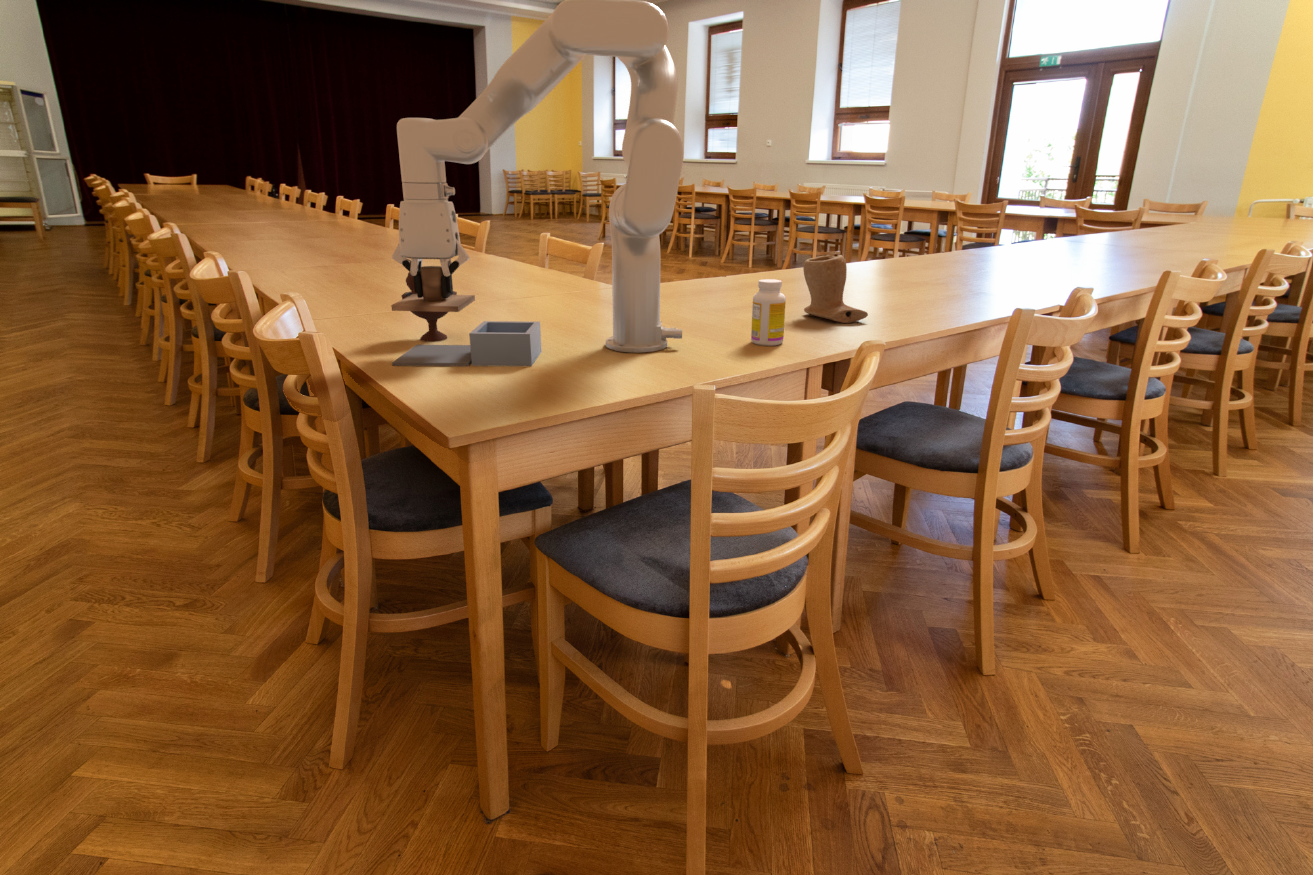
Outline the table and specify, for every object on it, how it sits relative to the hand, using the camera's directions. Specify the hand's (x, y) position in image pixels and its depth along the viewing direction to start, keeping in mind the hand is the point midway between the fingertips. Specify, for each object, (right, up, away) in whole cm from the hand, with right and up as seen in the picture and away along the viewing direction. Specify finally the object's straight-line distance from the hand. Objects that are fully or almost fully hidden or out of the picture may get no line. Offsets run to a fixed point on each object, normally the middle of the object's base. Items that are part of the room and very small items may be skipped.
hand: (434, 295), depth 138 cm
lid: (0, -2, +1) cm, 2 cm away
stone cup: (+83, +2, +40) cm, 92 cm away
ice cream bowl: (-6, -6, +18) cm, 20 cm away
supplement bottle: (+64, -7, +16) cm, 67 cm away
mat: (0, -11, +4) cm, 12 cm away
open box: (+13, -11, +3) cm, 18 cm away
